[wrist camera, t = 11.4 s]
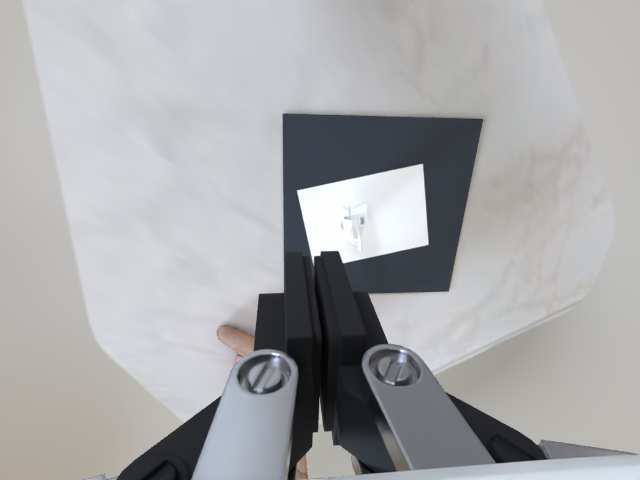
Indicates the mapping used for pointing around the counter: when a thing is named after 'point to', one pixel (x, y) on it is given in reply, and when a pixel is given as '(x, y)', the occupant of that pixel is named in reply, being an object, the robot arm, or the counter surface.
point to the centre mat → (376, 157)
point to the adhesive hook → (367, 214)
